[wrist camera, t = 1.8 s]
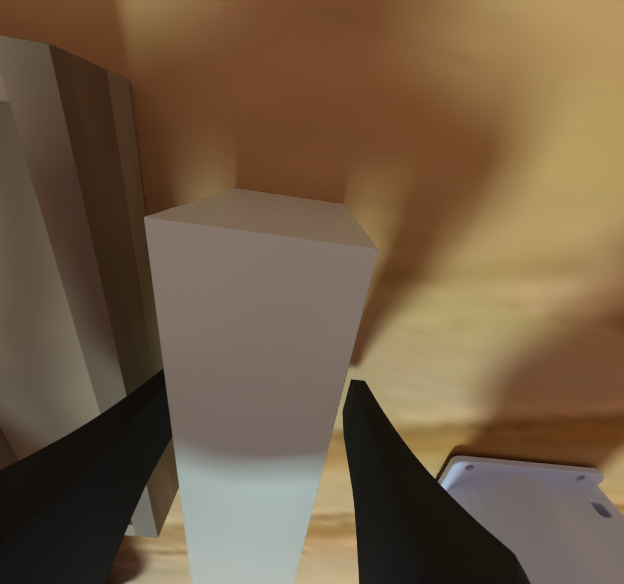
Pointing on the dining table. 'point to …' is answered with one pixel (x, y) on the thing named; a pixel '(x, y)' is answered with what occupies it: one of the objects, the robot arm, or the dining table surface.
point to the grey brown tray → (72, 259)
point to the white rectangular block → (254, 367)
